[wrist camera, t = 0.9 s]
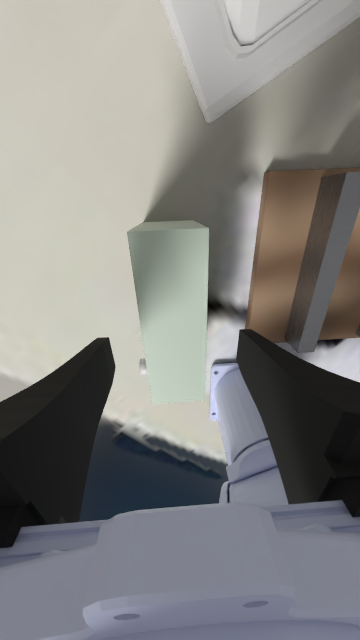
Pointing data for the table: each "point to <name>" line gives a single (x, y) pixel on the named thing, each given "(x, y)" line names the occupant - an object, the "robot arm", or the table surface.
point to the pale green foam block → (172, 306)
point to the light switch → (248, 42)
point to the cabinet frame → (307, 258)
